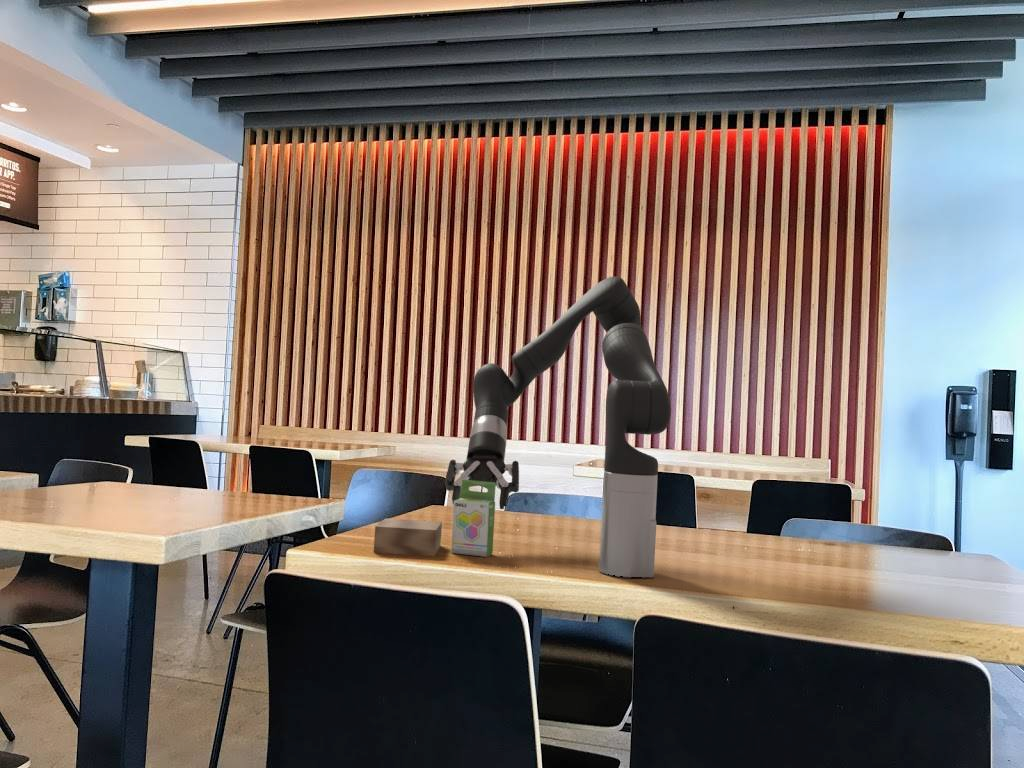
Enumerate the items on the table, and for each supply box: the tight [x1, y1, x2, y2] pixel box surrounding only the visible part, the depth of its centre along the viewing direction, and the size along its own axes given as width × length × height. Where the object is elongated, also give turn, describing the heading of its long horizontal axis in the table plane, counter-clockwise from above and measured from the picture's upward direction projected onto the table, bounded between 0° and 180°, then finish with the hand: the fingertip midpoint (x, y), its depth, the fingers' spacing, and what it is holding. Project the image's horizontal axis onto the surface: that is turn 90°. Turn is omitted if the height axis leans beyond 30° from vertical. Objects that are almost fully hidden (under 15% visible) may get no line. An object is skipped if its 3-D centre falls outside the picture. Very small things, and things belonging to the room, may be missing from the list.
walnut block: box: [373, 518, 443, 557], centre depth 150 cm, size 11×11×5 cm
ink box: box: [451, 480, 497, 558], centre depth 149 cm, size 7×4×13 cm, turn 73°
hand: (479, 506), depth 153 cm, fingers open, 8 cm apart
